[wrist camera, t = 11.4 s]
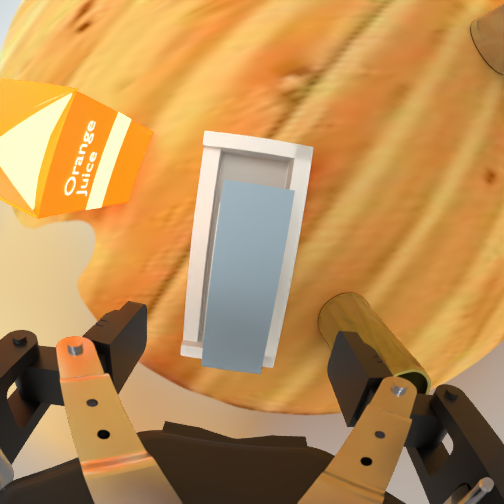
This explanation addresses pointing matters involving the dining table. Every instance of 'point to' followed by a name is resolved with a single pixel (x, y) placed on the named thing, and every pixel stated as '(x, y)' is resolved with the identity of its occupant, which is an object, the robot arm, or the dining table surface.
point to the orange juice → (64, 150)
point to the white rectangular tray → (206, 212)
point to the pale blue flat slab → (245, 274)
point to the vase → (371, 336)
